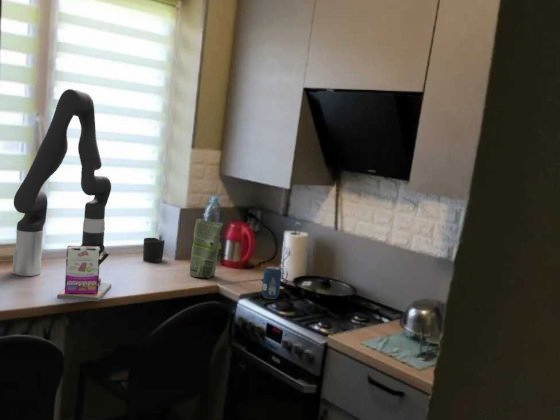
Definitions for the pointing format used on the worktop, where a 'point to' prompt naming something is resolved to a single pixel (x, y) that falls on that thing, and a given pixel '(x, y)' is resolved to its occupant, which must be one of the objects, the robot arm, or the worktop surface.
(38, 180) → the robot arm
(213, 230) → the pouch
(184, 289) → the worktop surface
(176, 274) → the worktop surface
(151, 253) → the pen holder
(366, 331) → the worktop surface
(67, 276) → the candy bar box
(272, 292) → the soda can
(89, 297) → the activity board
